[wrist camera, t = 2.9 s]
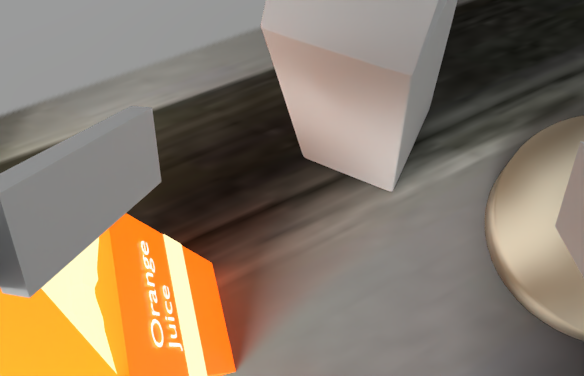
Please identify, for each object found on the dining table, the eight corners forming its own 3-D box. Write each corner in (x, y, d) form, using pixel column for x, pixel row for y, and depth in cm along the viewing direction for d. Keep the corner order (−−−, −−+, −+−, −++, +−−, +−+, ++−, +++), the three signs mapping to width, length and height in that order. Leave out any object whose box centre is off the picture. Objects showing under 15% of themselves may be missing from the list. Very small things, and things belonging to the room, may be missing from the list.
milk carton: (392, 193, 33) (423, 8, 15) (302, 158, 35) (236, -44, 17) (429, 110, 34) (495, -145, 17) (341, 80, 36) (318, -176, 19)
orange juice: (97, 297, 34) (-239, 229, 15) (212, 260, 33) (15, 143, 15) (111, 412, 31) (-281, 506, 12) (237, 374, 30) (33, 409, 12)
